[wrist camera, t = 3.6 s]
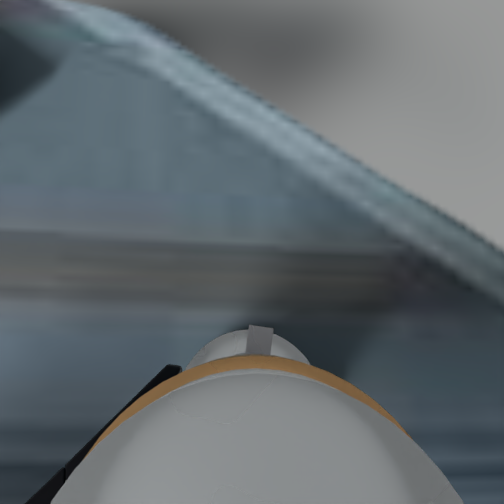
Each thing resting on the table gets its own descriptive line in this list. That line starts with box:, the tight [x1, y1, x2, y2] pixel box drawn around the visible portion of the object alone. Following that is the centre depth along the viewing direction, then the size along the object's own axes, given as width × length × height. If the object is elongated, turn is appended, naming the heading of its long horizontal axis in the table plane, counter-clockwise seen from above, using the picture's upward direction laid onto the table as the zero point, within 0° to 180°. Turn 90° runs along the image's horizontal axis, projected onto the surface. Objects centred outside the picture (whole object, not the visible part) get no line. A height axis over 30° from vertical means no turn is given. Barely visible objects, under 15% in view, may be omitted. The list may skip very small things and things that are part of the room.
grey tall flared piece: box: [50, 325, 464, 504], centre depth 9 cm, size 7×6×13 cm
